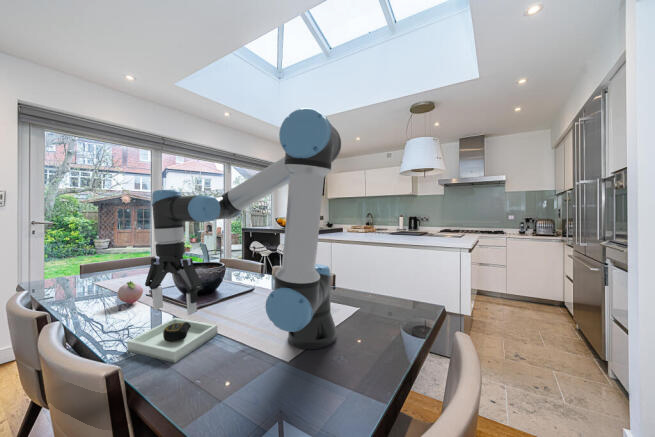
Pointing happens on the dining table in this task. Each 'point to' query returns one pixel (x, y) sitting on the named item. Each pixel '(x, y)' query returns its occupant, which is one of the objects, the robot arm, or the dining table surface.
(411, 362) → the dining table surface
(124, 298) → the decorative fruit
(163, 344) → the tray
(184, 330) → the tape measure
